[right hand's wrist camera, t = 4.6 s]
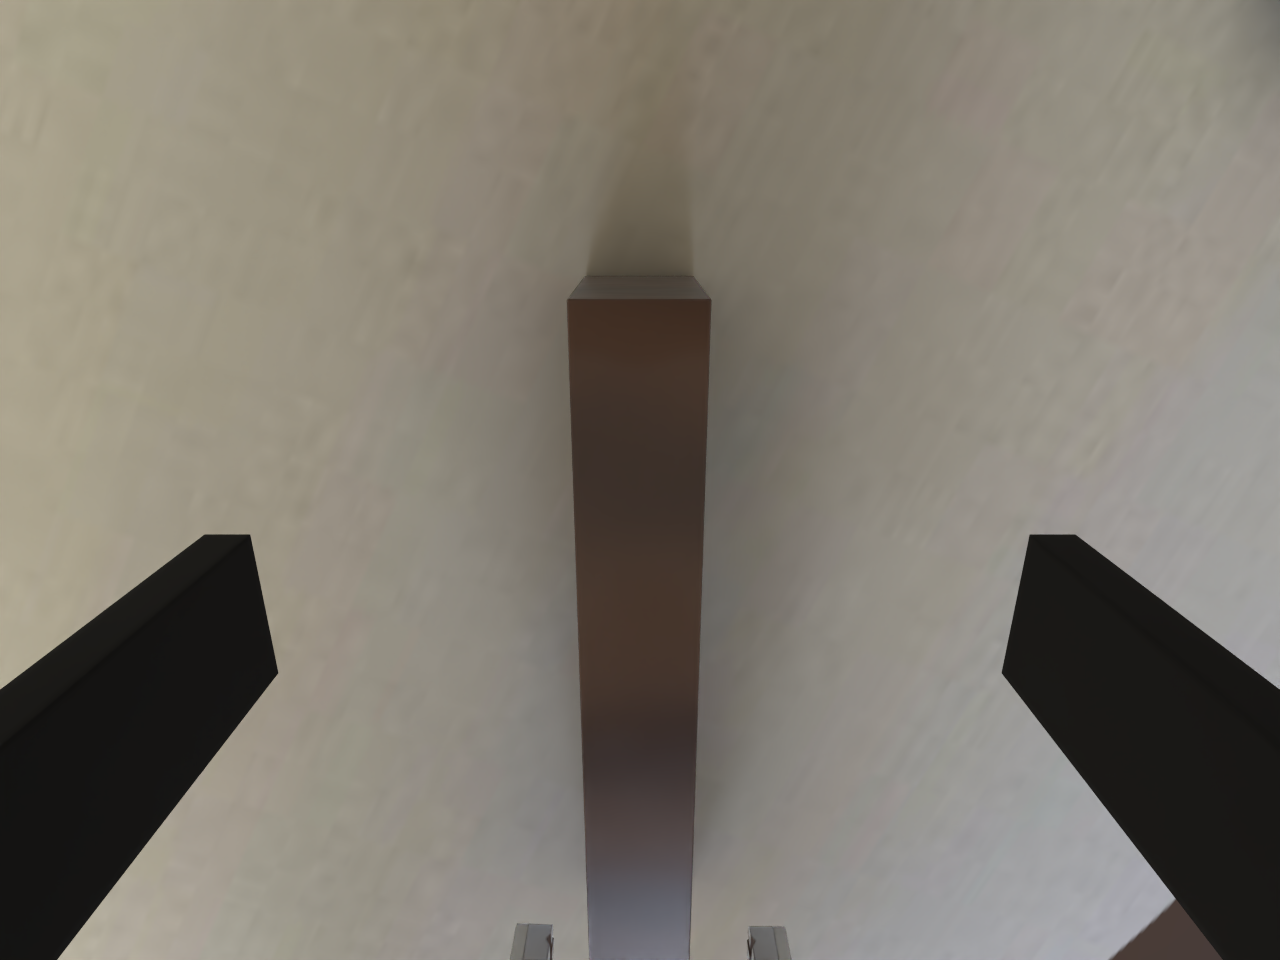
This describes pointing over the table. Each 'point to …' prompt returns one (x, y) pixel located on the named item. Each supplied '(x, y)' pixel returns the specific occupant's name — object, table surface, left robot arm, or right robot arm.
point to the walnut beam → (639, 598)
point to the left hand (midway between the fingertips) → (650, 934)
